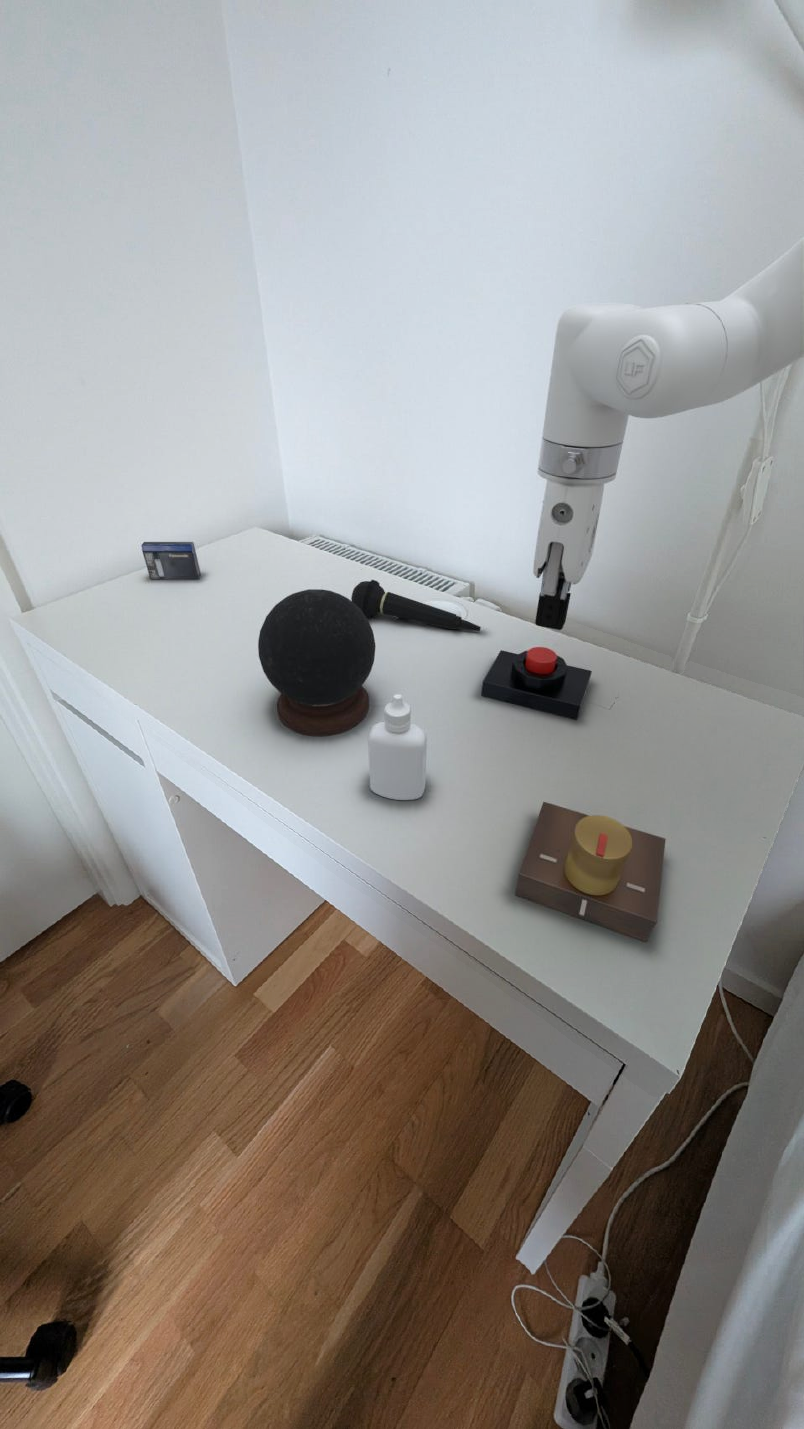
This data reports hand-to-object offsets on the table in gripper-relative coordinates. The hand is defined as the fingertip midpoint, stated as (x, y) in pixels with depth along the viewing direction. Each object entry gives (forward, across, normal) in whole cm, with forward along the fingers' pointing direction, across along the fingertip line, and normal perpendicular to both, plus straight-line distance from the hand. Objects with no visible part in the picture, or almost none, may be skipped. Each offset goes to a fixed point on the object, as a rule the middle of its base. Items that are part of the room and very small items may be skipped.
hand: (549, 624), depth 68 cm
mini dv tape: (+9, +7, +64) cm, 65 cm away
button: (+6, 0, 0) cm, 6 cm away
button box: (+10, 0, 0) cm, 10 cm away
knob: (+7, -28, -11) cm, 31 cm away
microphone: (+10, +9, +21) cm, 25 cm away
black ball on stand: (+10, -14, +23) cm, 29 cm away
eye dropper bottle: (+10, -23, +9) cm, 27 cm away
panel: (+10, -26, -11) cm, 30 cm away
